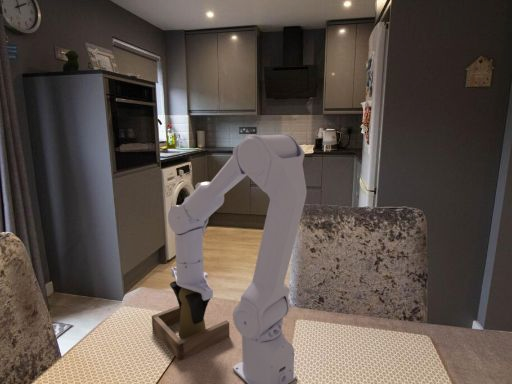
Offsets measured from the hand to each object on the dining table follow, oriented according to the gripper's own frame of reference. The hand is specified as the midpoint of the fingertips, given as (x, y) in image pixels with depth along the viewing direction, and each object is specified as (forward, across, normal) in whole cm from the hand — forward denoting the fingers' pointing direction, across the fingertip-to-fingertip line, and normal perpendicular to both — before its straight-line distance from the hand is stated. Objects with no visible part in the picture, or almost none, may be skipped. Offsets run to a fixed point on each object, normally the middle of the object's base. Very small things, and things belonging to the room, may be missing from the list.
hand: (191, 316), depth 74 cm
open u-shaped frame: (+4, 0, 0) cm, 4 cm away
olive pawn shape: (+4, 0, 0) cm, 4 cm away
